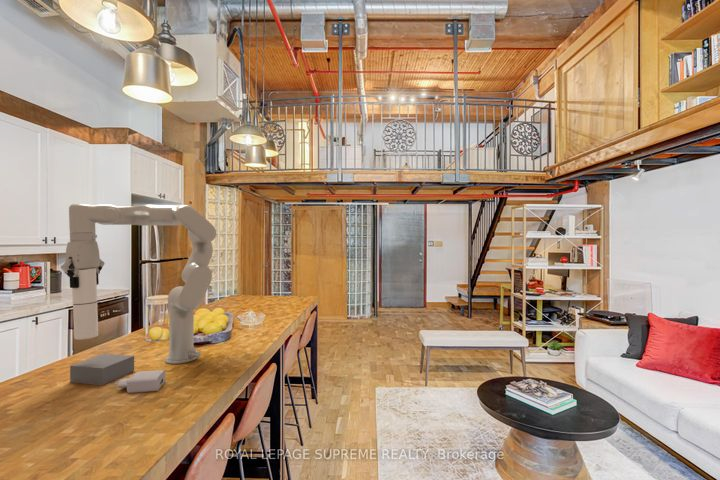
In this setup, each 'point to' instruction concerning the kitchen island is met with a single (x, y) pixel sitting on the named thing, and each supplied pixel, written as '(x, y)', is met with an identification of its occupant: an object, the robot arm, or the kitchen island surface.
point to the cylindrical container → (85, 305)
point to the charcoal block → (101, 369)
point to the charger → (143, 381)
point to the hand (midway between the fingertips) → (84, 285)
